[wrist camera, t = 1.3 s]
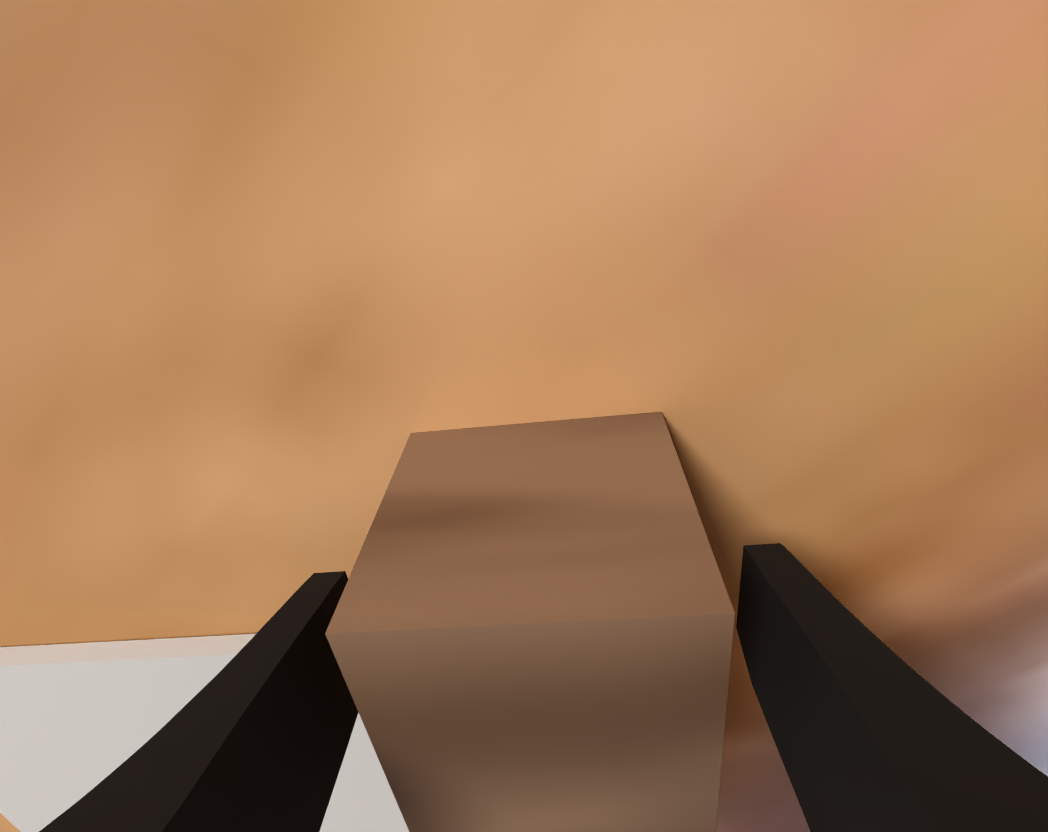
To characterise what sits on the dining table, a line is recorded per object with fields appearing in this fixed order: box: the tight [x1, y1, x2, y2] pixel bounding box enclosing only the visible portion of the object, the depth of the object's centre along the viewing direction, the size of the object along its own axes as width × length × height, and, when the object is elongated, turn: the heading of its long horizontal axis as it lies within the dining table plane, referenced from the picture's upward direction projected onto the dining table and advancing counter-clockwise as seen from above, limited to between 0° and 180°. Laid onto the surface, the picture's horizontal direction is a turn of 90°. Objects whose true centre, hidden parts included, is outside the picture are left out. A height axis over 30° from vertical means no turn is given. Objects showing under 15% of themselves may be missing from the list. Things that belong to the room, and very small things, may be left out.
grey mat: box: [0, 634, 409, 832], centre depth 18 cm, size 14×14×1 cm
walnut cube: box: [325, 412, 735, 832], centre depth 10 cm, size 5×5×5 cm
